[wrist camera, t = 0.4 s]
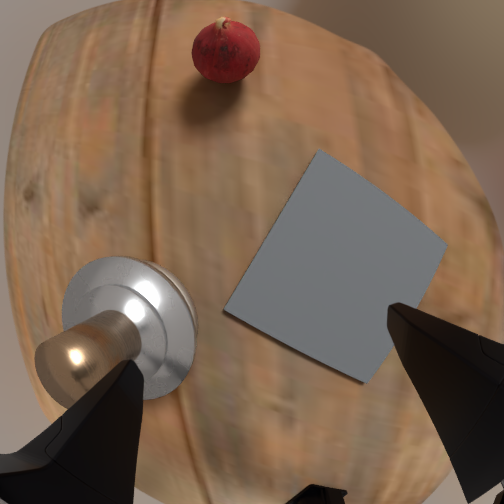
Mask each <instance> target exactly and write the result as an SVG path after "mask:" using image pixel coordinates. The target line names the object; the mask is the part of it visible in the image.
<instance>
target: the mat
mask: <svg viewBox="0 0 504 504" xmlns="http://www.w3.org/2000/svg"><path fill="white" fill-rule="evenodd" d="M447 245H448V244H446V243H445V242H444V241H443V240H442V239H441V238H440V237H439V236H437V235H436V234H435V233H434V232H433V231H432V230H430V229H429V228H428V227H427V226H426V225H425V224H423V223H422V222H421V221H420V220H419V219H417V218H416V217H415V216H414V215H412V214H411V213H410V212H409V211H407V210H406V209H405V208H404V207H402V206H401V205H400V204H399V203H397V202H396V201H395V200H393V199H392V198H391V197H389V196H388V195H387V194H385V193H384V192H383V191H381V190H380V189H379V188H377V187H376V186H374V185H373V184H372V183H370V182H369V181H367V180H366V179H365V178H363V177H362V176H360V175H359V174H357V173H356V172H354V171H353V170H351V169H350V168H348V167H347V166H345V165H344V164H342V163H341V162H339V161H338V160H336V159H335V158H333V157H332V156H330V155H328V154H327V153H325V152H324V151H322V150H320V149H319V150H318V151H317V153H316V154H315V156H314V158H313V159H312V161H311V163H310V164H309V166H308V168H307V170H306V171H305V173H304V175H303V176H302V178H301V180H300V181H299V183H298V185H297V186H296V188H295V190H294V192H293V193H292V195H291V197H290V198H289V200H288V202H287V203H286V205H285V207H284V208H283V210H282V212H281V214H280V215H279V217H278V219H277V220H276V222H275V224H274V225H273V227H272V229H271V230H270V232H269V234H268V235H267V237H266V239H265V240H264V242H263V244H262V246H261V247H260V249H259V251H258V252H257V254H256V256H255V257H254V259H253V261H252V262H251V264H250V266H249V267H248V269H247V271H246V272H245V274H244V276H243V277H242V279H241V281H240V282H239V284H238V286H237V287H236V289H235V291H234V292H233V294H232V296H231V297H230V299H229V301H228V302H227V304H226V306H225V307H224V310H225V311H227V312H229V313H231V314H232V315H234V316H236V317H238V318H239V319H241V320H243V321H245V322H246V323H248V324H250V325H252V326H254V327H255V328H257V329H259V330H261V331H263V332H265V333H266V334H268V335H270V336H272V337H274V338H276V339H278V340H279V341H281V342H283V343H285V344H287V345H289V346H291V347H293V348H295V349H297V350H298V351H300V352H302V353H304V354H306V355H308V356H310V357H312V358H314V359H316V360H318V361H320V362H322V363H324V364H326V365H328V366H330V367H332V368H334V369H337V370H339V371H341V372H343V373H345V374H347V375H349V376H351V377H353V378H356V379H358V380H360V381H362V382H364V383H366V384H367V383H368V382H369V381H370V379H371V378H372V377H373V375H374V374H375V372H376V371H377V370H378V368H379V367H380V365H381V364H382V362H383V361H384V360H385V358H386V357H387V355H388V354H389V352H390V351H391V349H392V348H393V346H394V343H393V341H392V339H391V336H390V334H389V332H388V329H387V309H388V306H389V305H390V304H393V303H396V302H401V303H403V304H406V305H408V306H411V307H413V308H417V306H418V305H419V303H420V301H421V299H422V297H423V295H424V294H425V292H426V290H427V288H428V286H429V284H430V282H431V280H432V278H433V276H434V274H435V272H436V270H437V268H438V265H439V263H440V261H441V259H442V257H443V255H444V252H445V250H446V248H447Z"/></svg>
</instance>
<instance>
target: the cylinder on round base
mask: <svg viewBox="0 0 504 504" xmlns="http://www.w3.org/2000/svg"><path fill="white" fill-rule="evenodd" d="M62 322H63V329H64V332H62V333H60V334H58V335H56V336H54V337H52V338H50V339H49V340H47V341H45V342H43V343H41V344H40V345H39V346H38V347H37V349H36V352H35V367H36V371H37V374H38V377H39V379H40V381H41V383H42V385H43V386H44V388H45V389H46V391H47V392H48V393H49V395H50V396H51V397H52V398H53V399H54V400H55V401H56V402H58V403H59V404H60V405H62V406H63V407H65V408H67V409H69V408H70V407H71V406H72V405H73V404H74V403H76V402H77V401H78V400H79V399H80V398H81V397H82V396H83V395H84V394H85V393H86V392H88V391H89V390H90V389H91V388H92V387H93V386H94V385H95V384H96V383H97V382H99V381H100V380H101V379H102V378H103V377H104V376H105V375H106V374H107V373H108V372H110V371H111V370H112V369H113V368H114V367H115V366H116V365H117V364H118V363H119V362H121V361H122V360H126V359H132V360H134V361H135V363H136V364H137V366H138V368H139V369H140V371H141V372H142V374H143V376H144V394H143V400H148V399H155V398H158V397H162V396H164V395H166V394H168V393H170V392H171V391H173V390H174V389H176V388H177V387H178V386H179V385H180V384H181V383H182V381H183V380H184V378H185V377H186V375H187V373H188V371H189V369H190V367H191V365H192V363H193V360H194V357H195V353H196V347H197V335H196V327H195V322H194V318H193V315H192V313H191V310H190V307H189V305H188V303H187V301H186V299H185V298H184V296H183V295H182V293H181V292H180V290H179V289H178V288H177V286H176V285H175V284H174V283H173V282H172V280H170V279H169V278H168V277H167V276H166V275H165V274H164V273H163V272H161V271H160V270H159V269H157V268H156V267H154V266H152V265H151V264H149V263H147V262H145V261H142V260H140V259H136V258H132V257H127V256H111V257H105V258H101V259H97V260H94V261H92V262H90V263H88V264H87V265H85V266H83V267H82V268H81V269H80V270H79V271H78V272H77V273H76V274H75V275H74V277H73V278H72V279H71V281H70V283H69V285H68V287H67V289H66V292H65V295H64V299H63V305H62Z"/></svg>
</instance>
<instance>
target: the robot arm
mask: <svg viewBox="0 0 504 504" xmlns="http://www.w3.org/2000/svg"><path fill="white" fill-rule="evenodd" d="M387 329H388V332H389V334H390V336H391V339H392V341H393V343H394V346H395V348H396V350H397V353H398V355H399V358H400V360H401V362H402V364H403V366H404V368H405V370H406V372H407V374H408V376H409V378H410V379H411V381H412V383H413V385H414V387H415V389H416V391H417V392H418V394H419V396H420V398H421V400H422V402H423V404H424V406H425V408H426V410H427V412H428V414H429V416H430V418H431V420H432V422H433V424H434V426H435V428H436V430H437V432H438V434H439V436H440V439H441V441H442V443H443V445H444V447H445V449H446V452H447V454H448V456H449V458H450V461H451V463H452V466H453V468H454V470H455V473H456V475H457V478H458V480H459V482H460V485H461V487H462V490H463V493H464V495H465V498H466V500H467V503H468V504H469V503H471V502H472V501H474V500H475V499H477V498H479V497H480V496H482V495H483V494H484V493H486V492H487V491H489V490H490V489H492V488H493V487H494V486H496V485H497V484H498V483H500V482H501V484H502V486H503V488H504V344H501V343H498V342H495V341H493V340H490V339H488V338H485V337H483V336H481V335H479V336H478V334H476V333H473V332H471V331H469V330H466V329H464V328H461V327H459V326H457V325H454V324H452V323H449V322H447V321H445V320H442V319H440V318H437V317H435V316H433V315H430V314H428V313H425V312H423V311H420V310H418V309H416V308H413V307H411V306H408V305H406V304H403V303H401V302H396V303H393V304H390V305H389V306H388V309H387ZM143 394H144V376H143V374H142V372H141V371H140V369H139V368H138V366H137V364H136V363H135V361H134V360H132V359H126V360H122V361H121V362H119V363H118V364H117V365H116V366H115V367H114V368H113V369H112V370H111V371H110V372H108V373H107V374H106V375H105V376H104V377H103V378H102V379H101V380H100V381H99V382H97V383H96V384H95V385H94V386H93V387H92V388H91V389H90V390H89V391H88V392H86V393H85V394H84V395H83V396H82V397H81V398H80V399H79V400H78V401H77V402H76V403H74V404H73V405H72V406H71V407H70V408H69V409H68V410H67V411H66V412H65V413H64V414H63V415H62V416H60V417H59V418H58V419H57V420H56V421H55V422H54V423H53V424H51V425H50V426H49V427H48V428H47V429H46V430H44V431H43V432H42V433H41V434H40V435H38V436H37V437H36V438H34V439H33V440H32V441H30V442H29V443H28V444H27V445H25V446H24V447H23V448H21V449H20V450H19V451H17V452H14V453H11V454H0V504H133V497H134V485H135V473H136V463H137V454H138V445H139V437H140V430H141V422H142V414H143ZM345 495H347V491H346V490H341V489H335V488H329V487H324V486H319V485H315V484H312V485H309V486H308V487H307V488H306V489H304V490H303V491H302V492H301V493H299V494H298V495H297V496H296V497H294V498H293V499H292V500H290V501H289V502H288V503H286V504H345V502H344V499H343V497H344V496H345ZM493 504H504V490H503V491H501V492H500V493H499V494H497V495H496V498H495V501H494V503H493Z"/></svg>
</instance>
